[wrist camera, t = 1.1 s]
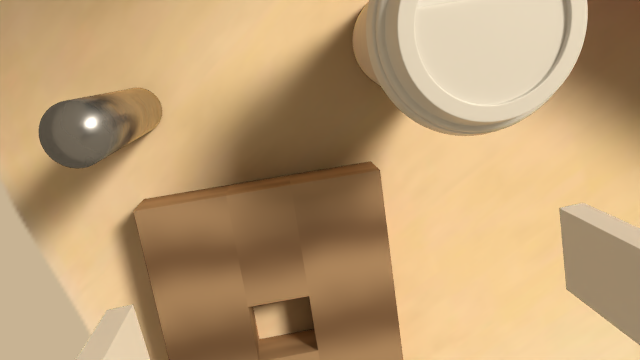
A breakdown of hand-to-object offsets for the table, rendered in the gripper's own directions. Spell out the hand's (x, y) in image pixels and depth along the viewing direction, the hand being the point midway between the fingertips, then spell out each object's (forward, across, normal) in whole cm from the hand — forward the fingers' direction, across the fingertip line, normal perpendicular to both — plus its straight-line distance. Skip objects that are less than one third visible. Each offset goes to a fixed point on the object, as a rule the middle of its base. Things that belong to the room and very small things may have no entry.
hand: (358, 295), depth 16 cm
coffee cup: (+22, +8, +7) cm, 24 cm away
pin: (+21, -10, +6) cm, 24 cm away
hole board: (+21, -4, -11) cm, 24 cm away
